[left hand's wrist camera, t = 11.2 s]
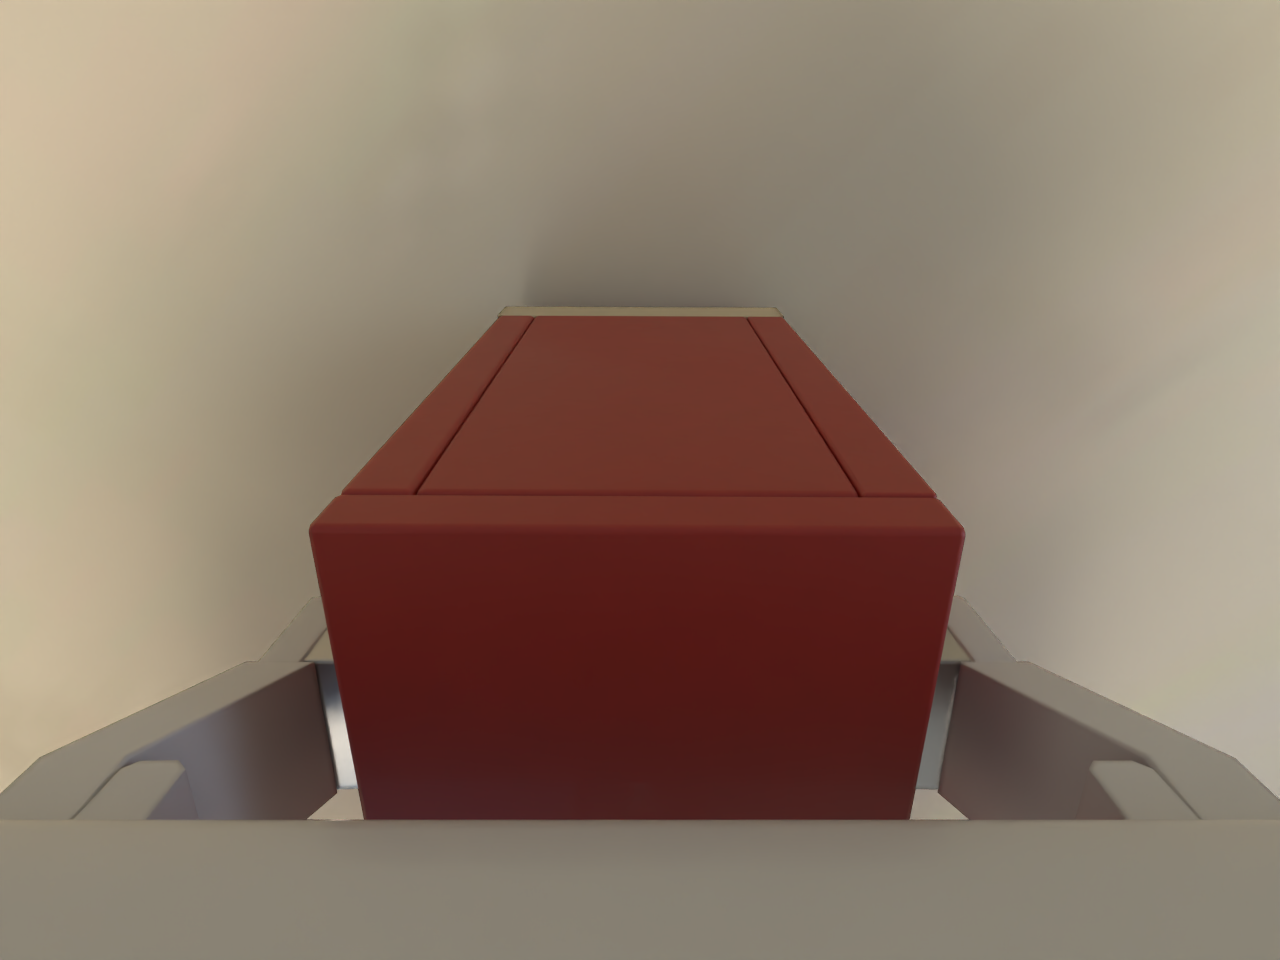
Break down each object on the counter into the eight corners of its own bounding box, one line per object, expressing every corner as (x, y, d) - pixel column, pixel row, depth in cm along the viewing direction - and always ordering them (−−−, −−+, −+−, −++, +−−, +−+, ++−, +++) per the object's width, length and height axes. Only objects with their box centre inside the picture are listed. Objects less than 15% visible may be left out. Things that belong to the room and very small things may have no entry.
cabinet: (728, 947, 23) (784, 1466, 14) (548, 946, 23) (485, 1464, 14) (776, 307, 15) (971, 528, 6) (505, 306, 15) (301, 524, 6)
